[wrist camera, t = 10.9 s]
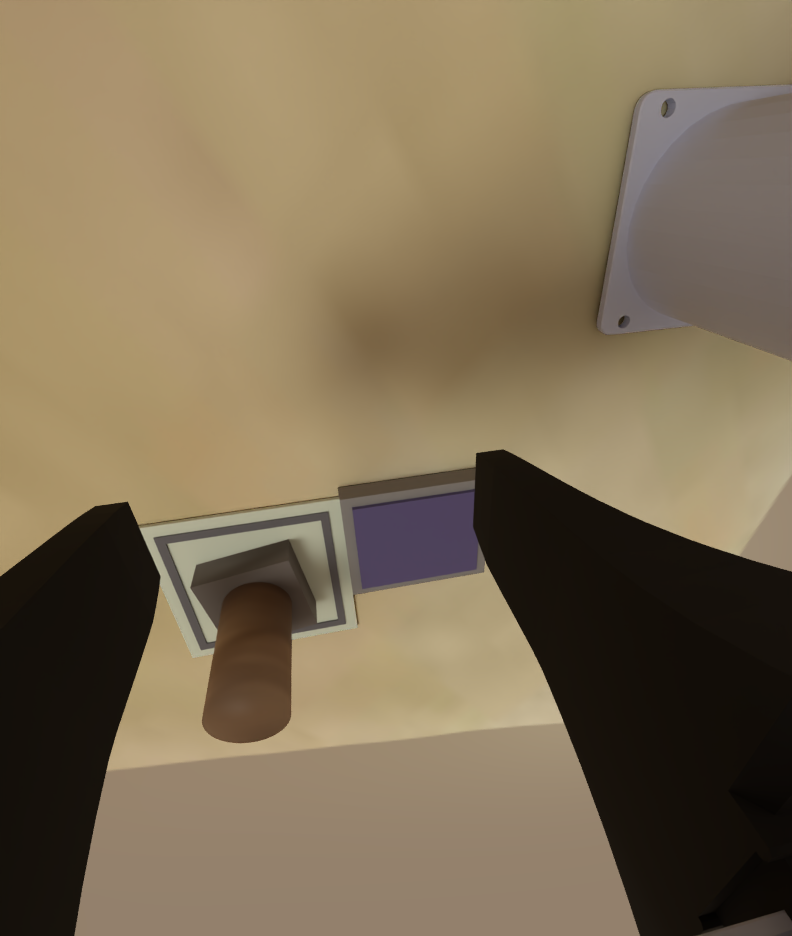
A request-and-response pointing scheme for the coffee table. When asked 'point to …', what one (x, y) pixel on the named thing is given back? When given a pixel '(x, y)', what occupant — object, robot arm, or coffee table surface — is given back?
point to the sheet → (226, 534)
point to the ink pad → (410, 530)
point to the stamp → (252, 638)
